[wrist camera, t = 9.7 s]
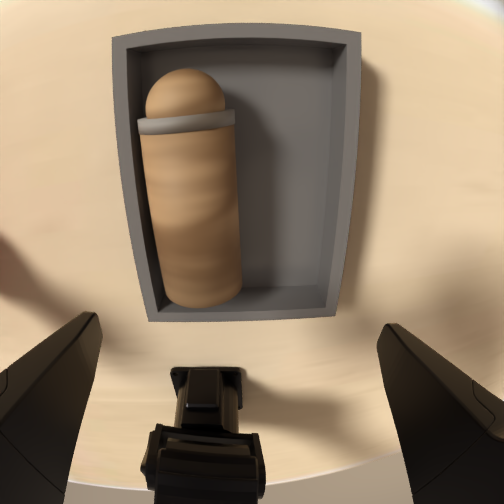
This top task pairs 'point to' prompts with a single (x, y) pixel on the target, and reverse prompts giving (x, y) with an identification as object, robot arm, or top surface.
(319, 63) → the dish
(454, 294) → the top surface
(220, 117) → the shaker
